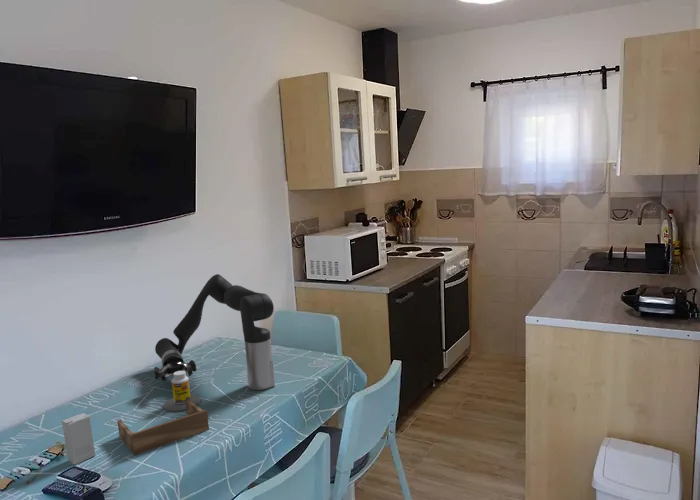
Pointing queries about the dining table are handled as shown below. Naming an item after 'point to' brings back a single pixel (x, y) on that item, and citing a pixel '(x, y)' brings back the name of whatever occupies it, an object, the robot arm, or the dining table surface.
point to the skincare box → (78, 438)
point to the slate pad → (173, 407)
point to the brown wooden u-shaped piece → (165, 430)
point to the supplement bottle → (180, 387)
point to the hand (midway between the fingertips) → (177, 375)
